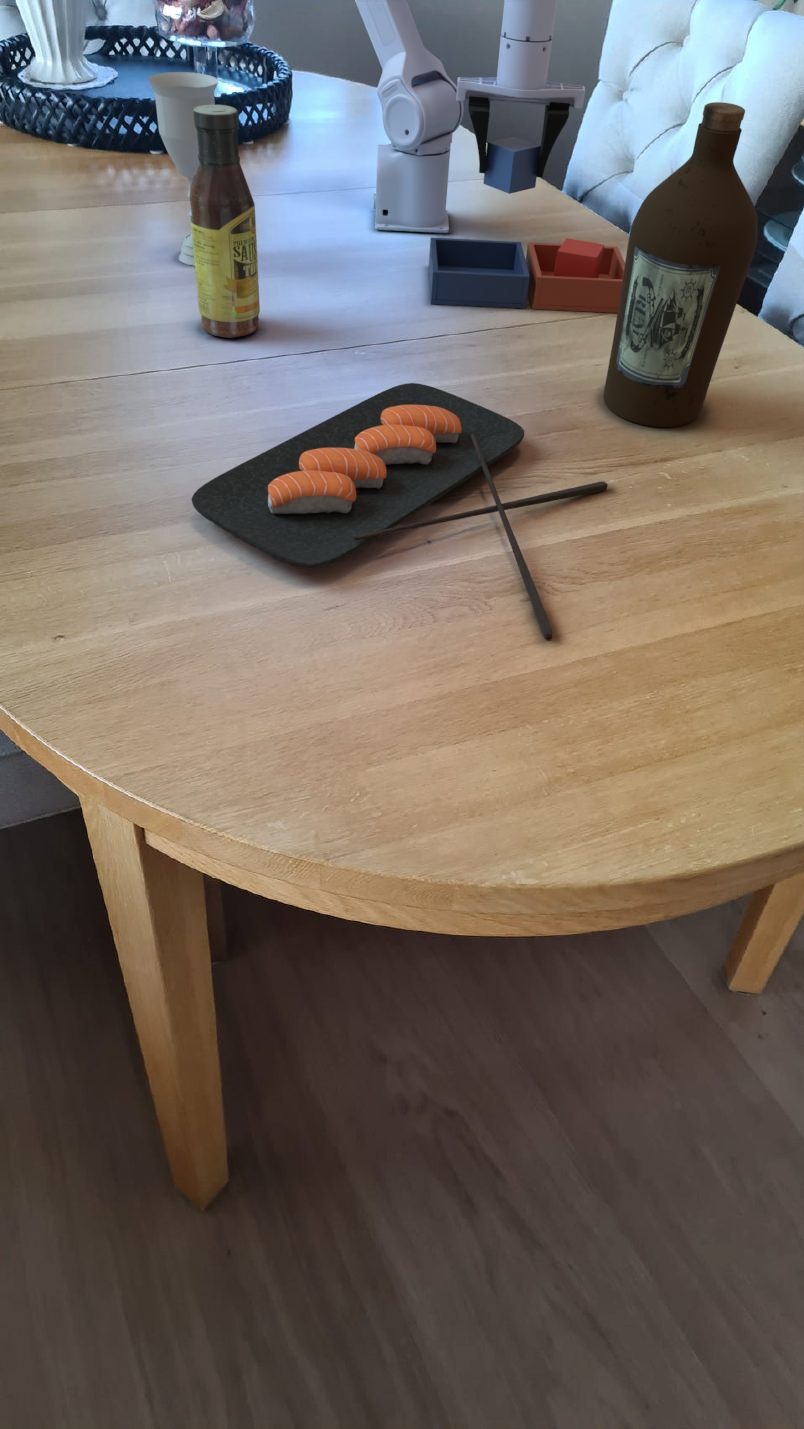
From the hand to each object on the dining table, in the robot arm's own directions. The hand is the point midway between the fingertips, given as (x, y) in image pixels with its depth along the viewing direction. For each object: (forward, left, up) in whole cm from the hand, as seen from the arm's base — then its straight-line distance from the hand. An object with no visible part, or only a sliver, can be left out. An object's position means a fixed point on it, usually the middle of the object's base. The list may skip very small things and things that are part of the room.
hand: (511, 173), depth 116 cm
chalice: (-37, -9, -9) cm, 39 cm away
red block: (+7, -14, -8) cm, 17 cm away
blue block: (0, 0, -1) cm, 1 cm away
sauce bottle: (-31, -28, -9) cm, 42 cm away
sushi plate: (-10, -62, -9) cm, 63 cm away
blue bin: (-4, -14, -8) cm, 17 cm away
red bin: (+7, -14, -8) cm, 18 cm away
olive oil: (+11, -41, -9) cm, 43 cm away
